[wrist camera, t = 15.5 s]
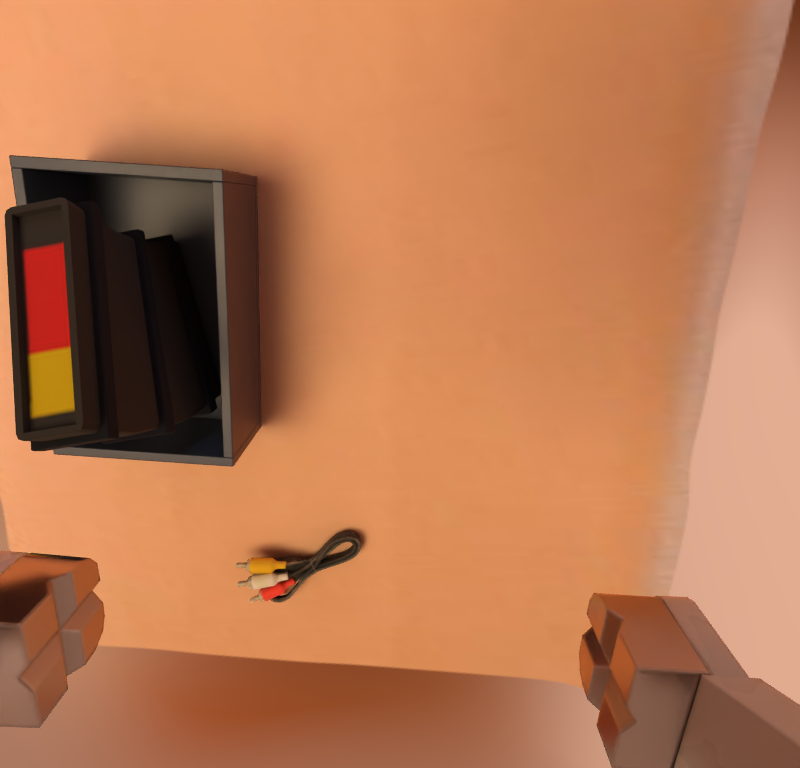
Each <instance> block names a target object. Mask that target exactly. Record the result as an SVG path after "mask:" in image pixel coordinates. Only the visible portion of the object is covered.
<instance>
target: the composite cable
mask: <svg viewBox="0 0 800 768" xmlns="http://www.w3.org/2000/svg"><path fill="white" fill-rule="evenodd" d="M344 542H351V543H352V544H353V546H352V547H351V548H350V549H348V550H347V551H345V552H342V553H339V554H336V555H332V556H329V557H326V556H327V555H328V554H329V553H330V552H331V551H332V550H333V549H335V548H336V547H337V546H338V545H340V544H341V543H344ZM360 548H361V540H360V537H359V536H358V534H356V533H354V532H343V533H340V534H337V535H336V536H334V537H332V538H331V539H330V540H329V541H328V542H327V543H326V544H325V545H324V546H323V547H322V549H321V550H320V551H319V552H318V553H317V554H316V555H315V556H314V557H311V558H306V559H303V558H301V557H300V558H296V557H293V556H290V557H285V558H280V559H274V558H251V559H248V561H247V562H246V563H237V564H236V568H246V570H247V571H250V572H251V573H253V575H252V576H250V577H249V578H248V580H247V581H240V582H238V584H237V586H238V587H241V586H248V587H249V589H254V590H256V589H260V588H261V589H260V591H259V593H258V595H257V596H255V597H253V598H251V599H250V602H255V601H257V600H260V601H262V602H263V601H268V600H271V601H273V602H283V601H286V600H287V599H289V598H290V597H291V596H292V595H293V594H294V593H295V592H296V590H297V589H298V588H299V586H300V585H301V584H302V583H303V582H304V581H305V580H306V579H307V578H308V577H310V576H311V575H313V574H314V573H316V572H318V571H321V570H323V569H326V568H329V567H332V566H335V565H338V564H341V563H344V562H347V561H348V560H351V559H352V558H354V557H355V556H356V555H357V554H358V553H359V551H360ZM325 557H326V558H325ZM298 579H300V580H299V581H298V583H297V584H296V585H295V587H294V588H293V589H292V590H291V591H290V592H289V593H288V594H286V595H282V596H279V595H281V594H283V593H284V592H285V591H286V589H287V588H288V587H289V586H291V585H293V584H295V583H296V581H297V580H298Z"/></svg>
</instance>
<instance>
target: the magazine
mask: <svg viewBox="0 0 800 768" xmlns="http://www.w3.org/2000/svg"><path fill="white" fill-rule="evenodd" d="M5 229H6V248H7V267H8V287H9V306H10V325H11V345H12V364H13V383H14V403H15V422H16V435H17V437H18V439H19V440H22V441H31V450H32V451H47V450H53V449H60V448H66V447H72V446H78V445H84V444H90V443H96V442H102V444H109V443H115V442H121V441H127V440H133V439H139V438H145V437H151V436H158V435H164V434H169V433H173V432H176V427H175V424H176V423H179V422H183V421H185V420H187V419H188V418H190V417H192V416H198V415H204V414H211V413H212V412H214V411H215V410H216V409H217V404H216V400H215V399H216V398H217V397H218V396H220V395H221V384H220V381H219V378H218V374H217V371H216V368H215V364H214V361H213V358H212V354H211V351H210V347H209V344H208V341H207V337H206V334H205V331H204V327H203V324H202V321H201V317H200V314H199V311H198V307H197V304H196V300H195V297H194V294H193V290H192V287H191V284H190V280H189V277H188V274H187V270H186V267H185V263H184V260H183V257H182V253H181V250H180V247H179V244H178V243H177V242H176V241H174V239H173V236H172V235H165V236H160V237H155V238H149V239H145V234H144V231H142V230H140V229H136V230H130V231H125V232H120V233H119V232H116V231H115V230H113V229H112V228H110V227H109V226H107V225H105V224H104V223H102V212H101V207H100V206H99V205H97V204H96V203H94V202H93V201H91V200H89V201H84V202H79V203H74V204H73V203H72V202H70V201H69V200H67V199H66V198H61V197H60V198H55V199H50V200H45V201H40V202H35V203H30V204H25V205H20V206H15V207H11V208H10V209H8V210H7V211H6V214H5Z"/></svg>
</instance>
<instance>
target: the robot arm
mask: <svg viewBox="0 0 800 768" xmlns="http://www.w3.org/2000/svg"><path fill="white" fill-rule="evenodd" d="M99 581H100V576H99V571H98V565H97V563H96V562H95V561H93V560H92V559H90V558H82V557H71V556H60V555H49V554H38V553H30V554H29V553H23V552H10V551H0V726H1V727H2V726H3V727H27V728H40V726H41V725H42V724H43V722H44V721H45V720H46V718H47V717H48V715H49V714H50V713H51V711H52V710H53V709H54V707H55V706H56V704H57V703H58V702H59V700H60V699H61V698H62V696H63V695H64V693H65V692H66V691H67V689H68V685H67V675H69V674H71V673H72V672H74V671H75V670H77V669H79V668H81V667H82V666H84V665H85V664H86V663H87V661H88V660H89V659H90V657H91V655H92V654H93V653H94V651H95V650H96V648H97V645H98V642H99V640H100V637H101V634H102V632H103V626H104V617H105V614H104V606H103V602H102V601H101V600H100V599H99V598H98V597H97V595H96V594H95V593H94V592H93V591H92V590H93V589H94V588H95V586H96V585H97V584H98V582H99ZM587 615H588V618H589V620H590V622H591V625H592V627H591V628H590V629H589V630H588V631H587V632H586V633H585V634H583V635H582V639H581V645H580V651H579V660H580V674H581V679H582V684H583V687H584V690H585V693H586V696H587V699H588V700H589V701H590V702H591V703H592V704H593V705H594V706H595V707H596V708H598V709H599V710H600V713H599V717H598V722H597V727H598V730H599V733H600V736H601V739H602V741H603V744H604V747H605V750H606V752H607V755H608V758H609V761H610V764H611V766H612V768H800V705H799V704H797V703H796V702H794V701H793V700H791V699H790V698H788V697H786V696H785V695H784V694H782V693H781V692H779V691H778V690H776V689H775V688H773V687H772V686H770V685H769V684H767V683H766V682H764V681H763V680H761V679H756V678H749V677H748V675H747V674H746V672H745V671H744V670H743V669H742V667H741V666H740V664H739V663H738V661H737V660H736V659H735V657H734V656H733V654H732V653H731V652H730V650H729V649H728V647H727V646H726V645H725V643H724V642H723V641H722V639H721V638H720V637H719V635H718V634H717V632H716V631H715V630H714V628H713V627H712V625H711V624H710V623H709V621H708V620H707V618H706V617H705V616H704V614H703V613H702V612H701V610H700V609H699V607H698V606H697V605H696V603H695V602H693V601H692V600H691V599H689V598H688V597H671V596H655V597H649V596H634V595H618V594H602V593H594V594H593V595H592V597H591V599H590V601H589V605H588V610H587Z"/></svg>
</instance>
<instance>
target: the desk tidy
mask: <svg viewBox="0 0 800 768" xmlns="http://www.w3.org/2000/svg"><path fill="white" fill-rule="evenodd" d="M9 158H10V164H11V167H12V168H11V171H12V178H13V184H14V191H15V198H16V204H17V206H20V205H25V204H30V203H35V202H40V201H45V200H50V199H55V198H60V197H61V198H66V199H67V200H69V201H70V202H72V203H73V204H74V203H79V202H84V201H89V200H91V201H93V202H94V203H96V204H97V205H99V206H100V207H101V212H102V223H104V224H105V225H107V226H109V227H110V228H112V229H113V230H115V231H116V232H119V233H120V232H125V231H130V230H136V229H140V230H142V231H144V234H145V239H149V238H155V237H160V236H165V235H172V236H173V239H174V241H176V242H177V243H178V244H179V247H180V250H181V253H182V257H183V260H184V263H185V267H186V270H187V274H188V277H189V280H190V284H191V287H192V290H193V294H194V297H195V300H196V304H197V307H198V311H199V314H200V317H201V321H202V324H203V327H204V331H205V334H206V337H207V341H208V344H209V347H210V351H211V354H212V358H213V361H214V364H215V368H216V371H217V374H218V378H219V381H220V384H221V395H220V396H218V397H217V398H216V399H215V400H216V404H217V409H216V410H215V411H214V412H212V413H211V414H204V415H198V416H192V417H190V418H188V419H187V420H185V421H183V422H179V423H176V424H175V427H176V432H173V433H169V434H164V435H158V436H151V437H145V438H139V439H133V440H127V441H121V442H115V443H109V444H102V442H96V443H90V444H84V445H78V446H72V447H66V448H60V449H53V451H54V454H58V455H73V456H87V457H102V458H116V459H131V460H145V461H160V462H174V463H189V464H203V465H218V466H234V465H235V463H236V462H237V460H238V459H239V457H240V456H241V455H242V453H243V452H244V450H245V449H246V447H247V446H248V445H249V443H250V442H251V440H252V439H253V437H254V436H255V435H256V433H257V432H258V430H259V429H260V428H261V380H260V324H259V268H258V211H257V177H256V176H252V175H247V174H242V173H238V172H233V171H228V170H223V169H209V168H194V167H179V166H164V165H149V164H134V163H119V162H104V161H89V160H74V159H59V158H44V157H29V156H14V155H10V156H9Z"/></svg>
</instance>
